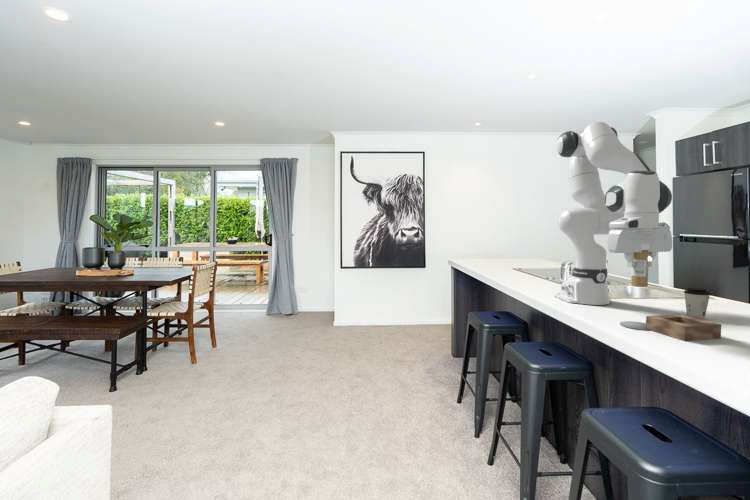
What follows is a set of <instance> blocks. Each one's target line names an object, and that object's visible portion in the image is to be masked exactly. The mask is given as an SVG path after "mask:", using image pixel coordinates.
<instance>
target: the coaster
mask: <svg viewBox="0 0 750 500" xmlns="http://www.w3.org/2000/svg"><path fill="white" fill-rule="evenodd" d="M619 325H620V326H621V327H623V328H627V329H629V330H636V331H651V330H650V329H649V328H646V322H640V321H632V320H631V321H630V320H629V321H626V320H625V321H621V322H620V324H619Z"/></svg>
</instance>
